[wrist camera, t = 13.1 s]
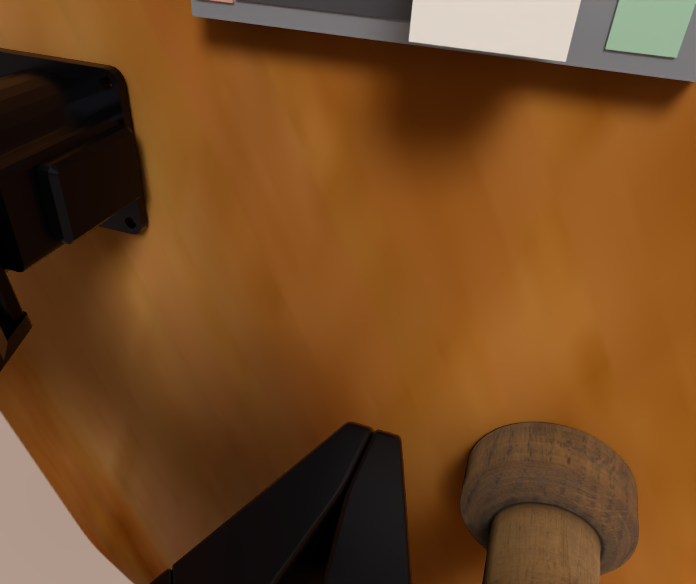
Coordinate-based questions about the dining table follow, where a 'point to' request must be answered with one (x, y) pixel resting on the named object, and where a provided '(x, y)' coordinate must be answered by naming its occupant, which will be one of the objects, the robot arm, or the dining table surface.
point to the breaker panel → (585, 51)
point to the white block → (497, 26)
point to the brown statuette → (549, 505)
